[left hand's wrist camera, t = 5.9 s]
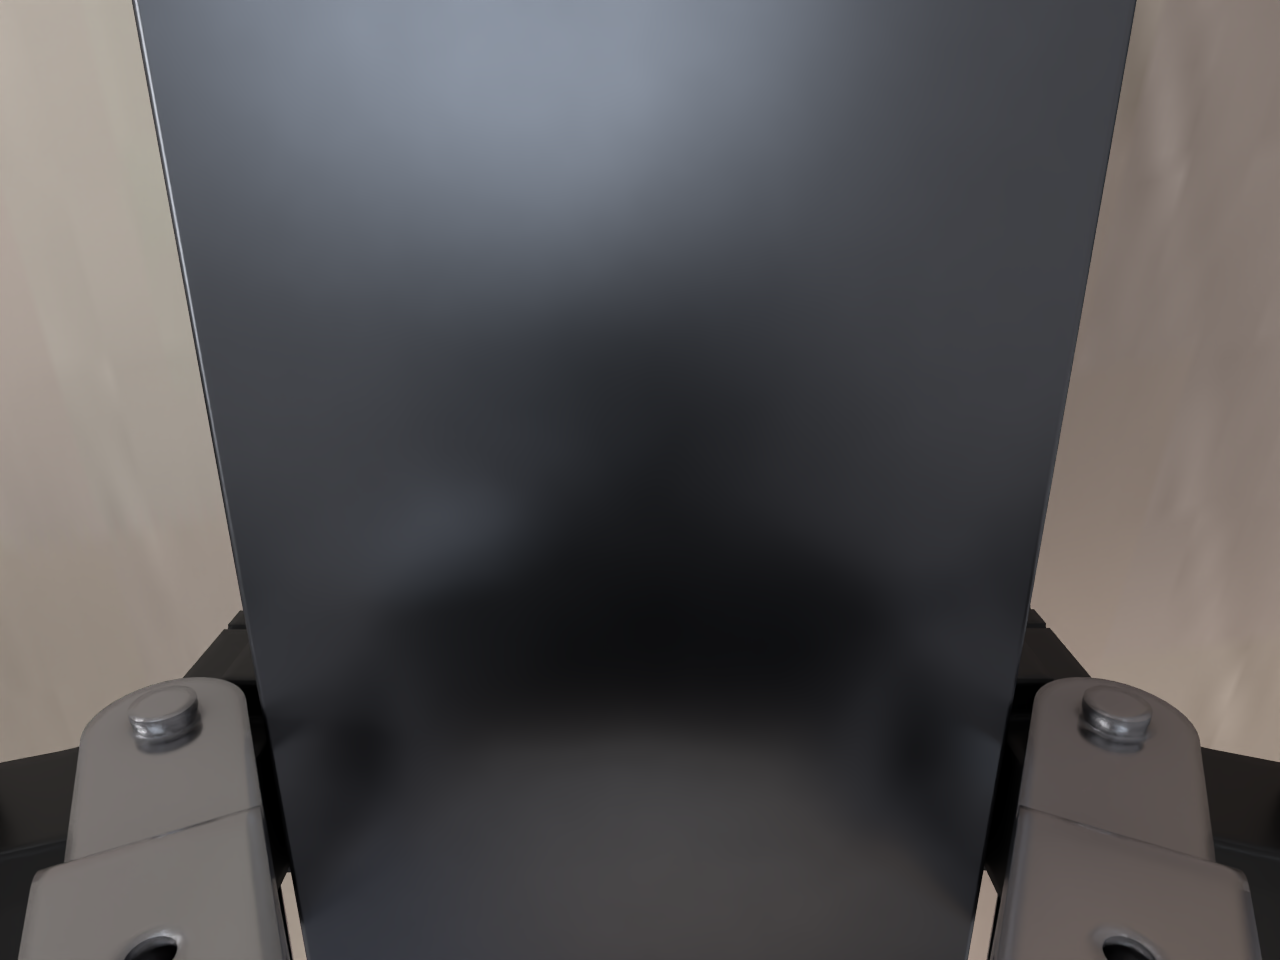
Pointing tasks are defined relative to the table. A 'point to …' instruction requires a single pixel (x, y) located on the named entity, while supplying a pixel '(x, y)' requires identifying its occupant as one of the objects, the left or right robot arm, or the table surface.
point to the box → (635, 446)
